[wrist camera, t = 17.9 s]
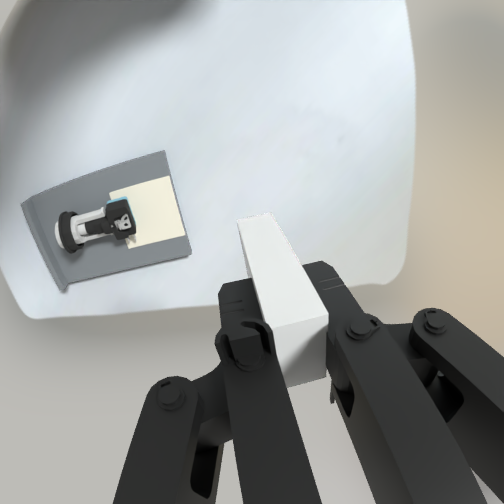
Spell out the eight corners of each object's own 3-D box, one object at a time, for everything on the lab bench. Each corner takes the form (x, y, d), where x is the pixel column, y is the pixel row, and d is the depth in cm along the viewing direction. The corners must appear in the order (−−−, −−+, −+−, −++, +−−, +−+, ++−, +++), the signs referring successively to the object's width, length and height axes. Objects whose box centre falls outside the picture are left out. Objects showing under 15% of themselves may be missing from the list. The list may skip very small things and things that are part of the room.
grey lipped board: (30, 197, 31) (20, 204, 29) (164, 150, 32) (161, 153, 30) (66, 279, 38) (59, 290, 36) (191, 250, 39) (191, 260, 37)
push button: (140, 253, 34) (71, 270, 32) (139, 224, 37) (75, 241, 36) (124, 212, 29) (48, 234, 27) (126, 185, 32) (56, 205, 31)
